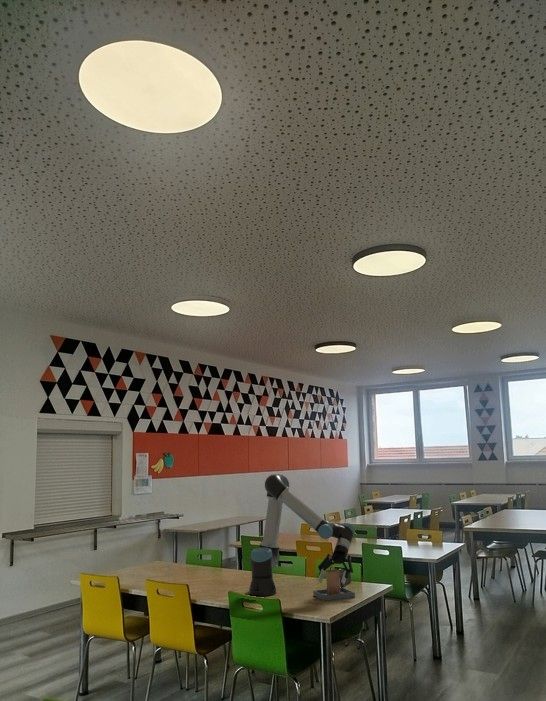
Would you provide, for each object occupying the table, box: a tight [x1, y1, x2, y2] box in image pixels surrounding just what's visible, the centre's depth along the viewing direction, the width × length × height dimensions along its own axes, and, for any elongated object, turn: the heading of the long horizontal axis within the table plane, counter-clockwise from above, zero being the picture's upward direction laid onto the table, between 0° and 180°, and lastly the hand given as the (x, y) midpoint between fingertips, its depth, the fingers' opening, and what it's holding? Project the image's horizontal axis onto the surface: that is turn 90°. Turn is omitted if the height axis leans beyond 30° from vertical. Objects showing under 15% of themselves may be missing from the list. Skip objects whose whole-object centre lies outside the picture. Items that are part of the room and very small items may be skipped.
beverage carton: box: [339, 570, 352, 588], centre depth 327 cm, size 8×19×7 cm, turn 154°
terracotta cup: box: [325, 569, 340, 595], centre depth 296 cm, size 7×7×12 cm
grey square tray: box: [312, 587, 356, 601], centre depth 295 cm, size 15×18×2 cm
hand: (331, 582), depth 295 cm, fingers open, 13 cm apart
